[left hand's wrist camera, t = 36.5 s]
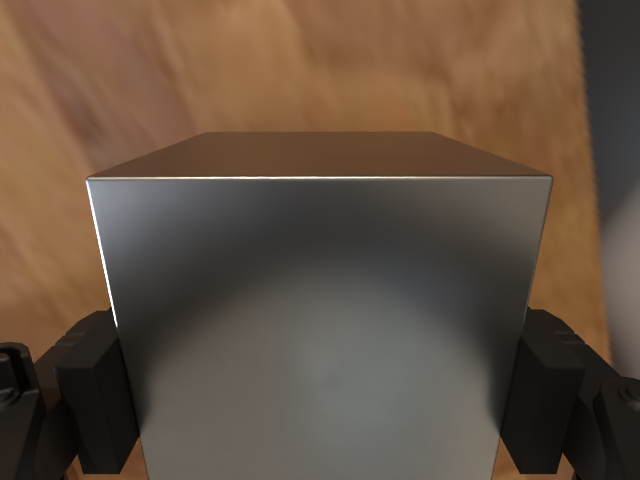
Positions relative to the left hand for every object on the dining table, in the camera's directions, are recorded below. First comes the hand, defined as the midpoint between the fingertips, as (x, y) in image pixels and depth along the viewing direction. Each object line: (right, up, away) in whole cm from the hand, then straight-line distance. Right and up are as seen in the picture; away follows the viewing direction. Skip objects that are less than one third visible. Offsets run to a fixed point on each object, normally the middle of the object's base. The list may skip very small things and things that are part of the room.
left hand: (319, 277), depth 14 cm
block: (0, +1, +2) cm, 3 cm away
